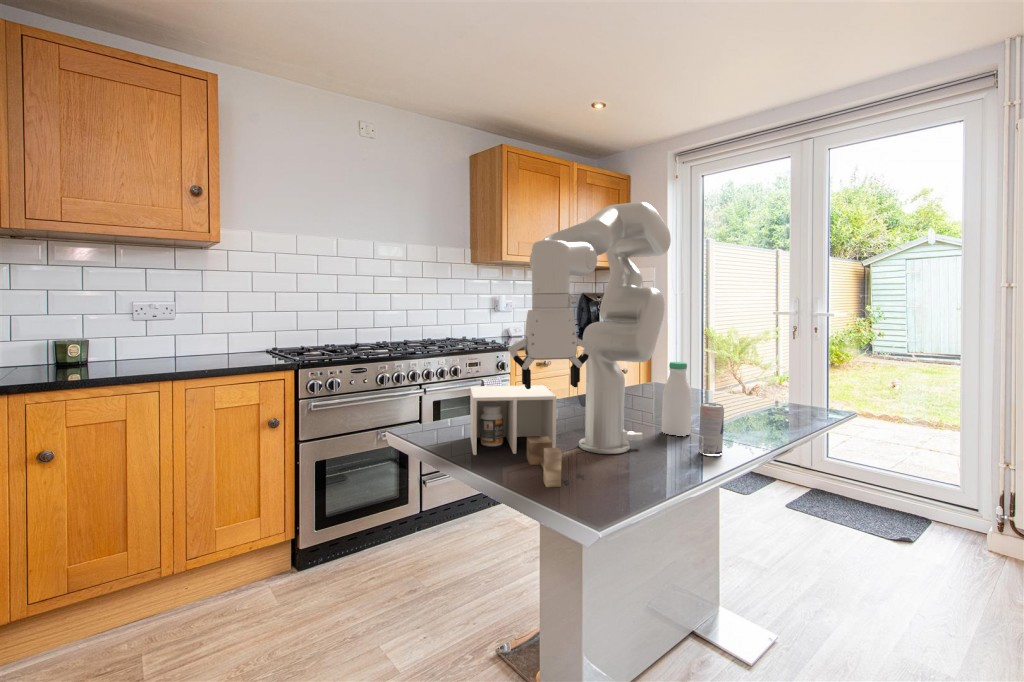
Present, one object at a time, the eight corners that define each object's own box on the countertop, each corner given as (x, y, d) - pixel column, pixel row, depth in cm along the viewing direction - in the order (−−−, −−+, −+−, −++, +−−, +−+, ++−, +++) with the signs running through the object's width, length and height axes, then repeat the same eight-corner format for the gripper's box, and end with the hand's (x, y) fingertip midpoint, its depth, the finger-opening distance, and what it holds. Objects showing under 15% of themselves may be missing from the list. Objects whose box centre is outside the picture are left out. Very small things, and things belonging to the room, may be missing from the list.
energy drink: (722, 452, 126) (724, 403, 125) (721, 458, 121) (723, 408, 120) (699, 449, 128) (701, 402, 127) (697, 455, 123) (699, 406, 122)
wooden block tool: (547, 457, 121) (548, 428, 121) (565, 486, 102) (566, 451, 102) (526, 458, 121) (526, 428, 120) (541, 487, 102) (541, 452, 101)
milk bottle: (694, 437, 139) (697, 364, 138) (665, 437, 140) (668, 363, 138) (685, 430, 147) (687, 360, 146) (658, 430, 147) (660, 360, 146)
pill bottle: (500, 447, 129) (500, 408, 128) (478, 446, 130) (478, 407, 129) (505, 441, 134) (505, 404, 134) (483, 440, 135) (483, 403, 135)
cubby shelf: (543, 435, 141) (544, 385, 140) (555, 452, 125) (556, 396, 124) (470, 437, 138) (470, 386, 137) (473, 454, 123) (473, 397, 122)
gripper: (587, 301, 108) (586, 382, 110) (505, 303, 106) (506, 385, 108) (598, 302, 101) (597, 389, 103) (510, 304, 98) (511, 392, 100)
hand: (550, 387), depth 105 cm, fingers open, 9 cm apart
